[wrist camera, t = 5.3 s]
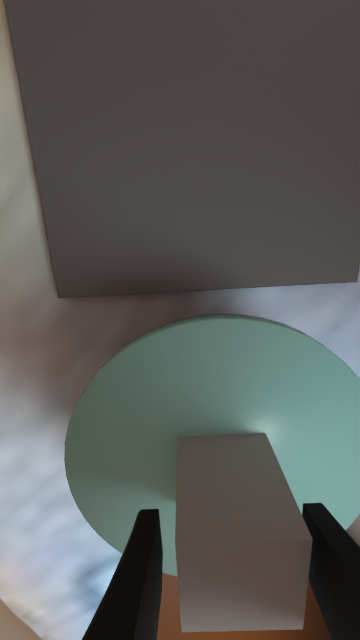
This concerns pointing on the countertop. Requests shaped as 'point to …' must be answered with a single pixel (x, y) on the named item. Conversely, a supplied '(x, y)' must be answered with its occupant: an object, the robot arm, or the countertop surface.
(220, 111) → the mat
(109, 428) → the lid
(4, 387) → the countertop surface
